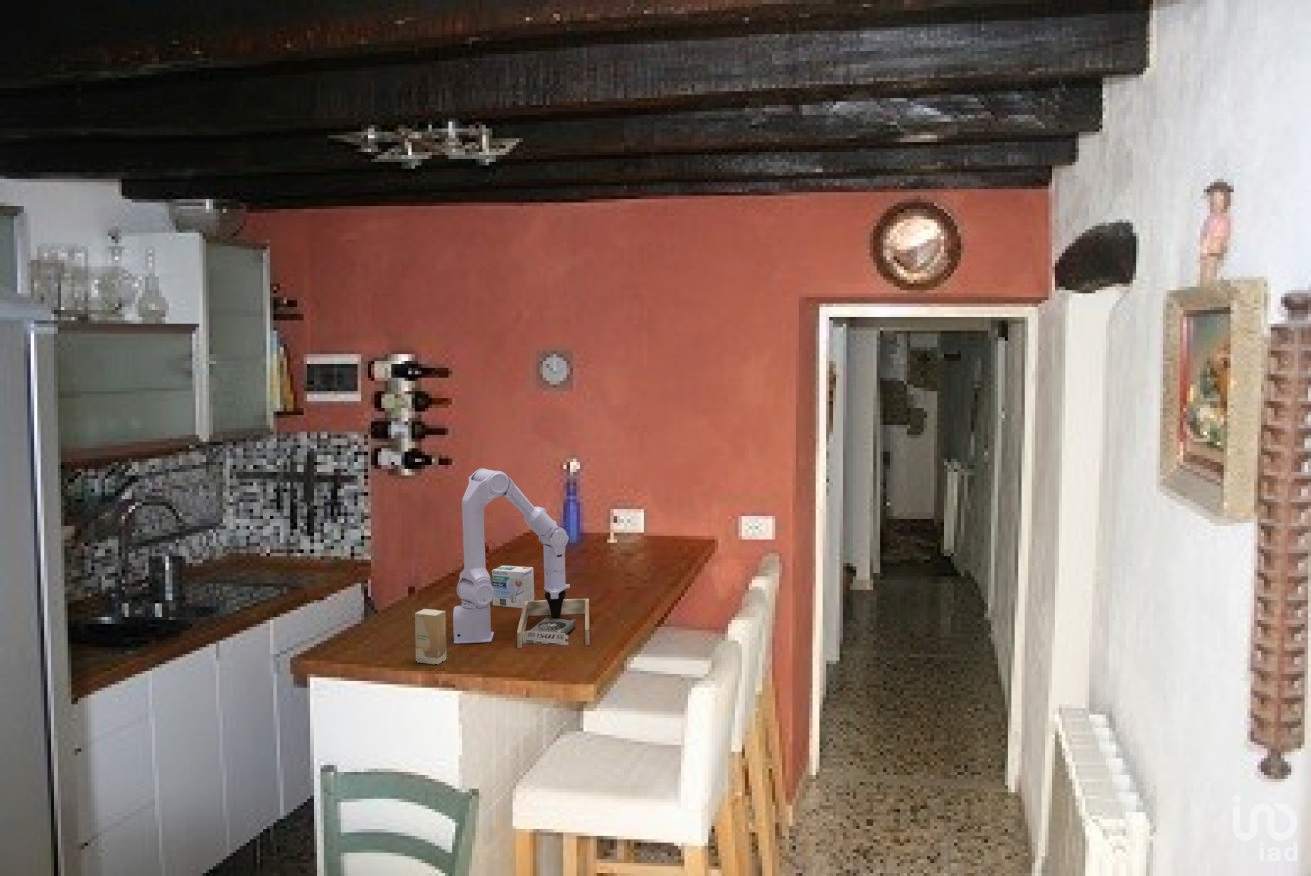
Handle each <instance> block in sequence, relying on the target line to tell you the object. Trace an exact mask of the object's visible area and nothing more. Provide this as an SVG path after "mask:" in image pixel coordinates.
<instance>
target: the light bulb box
mask: <svg viewBox="0 0 1311 876" xmlns="http://www.w3.org/2000/svg"><path fill="white" fill-rule="evenodd" d="M534 573H535V572H534V567H532V566H516V565H505V564H504V565H500V566H498V567H496V568H494V569H491V585H492V587H493V589H494V598H493V600H492V606H495V607H496V606H497V607H506V608H507V607H508V608H518V609H523V605H524V601H535V584H534V583H535V581H534V579H535V576H534Z"/></svg>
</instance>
